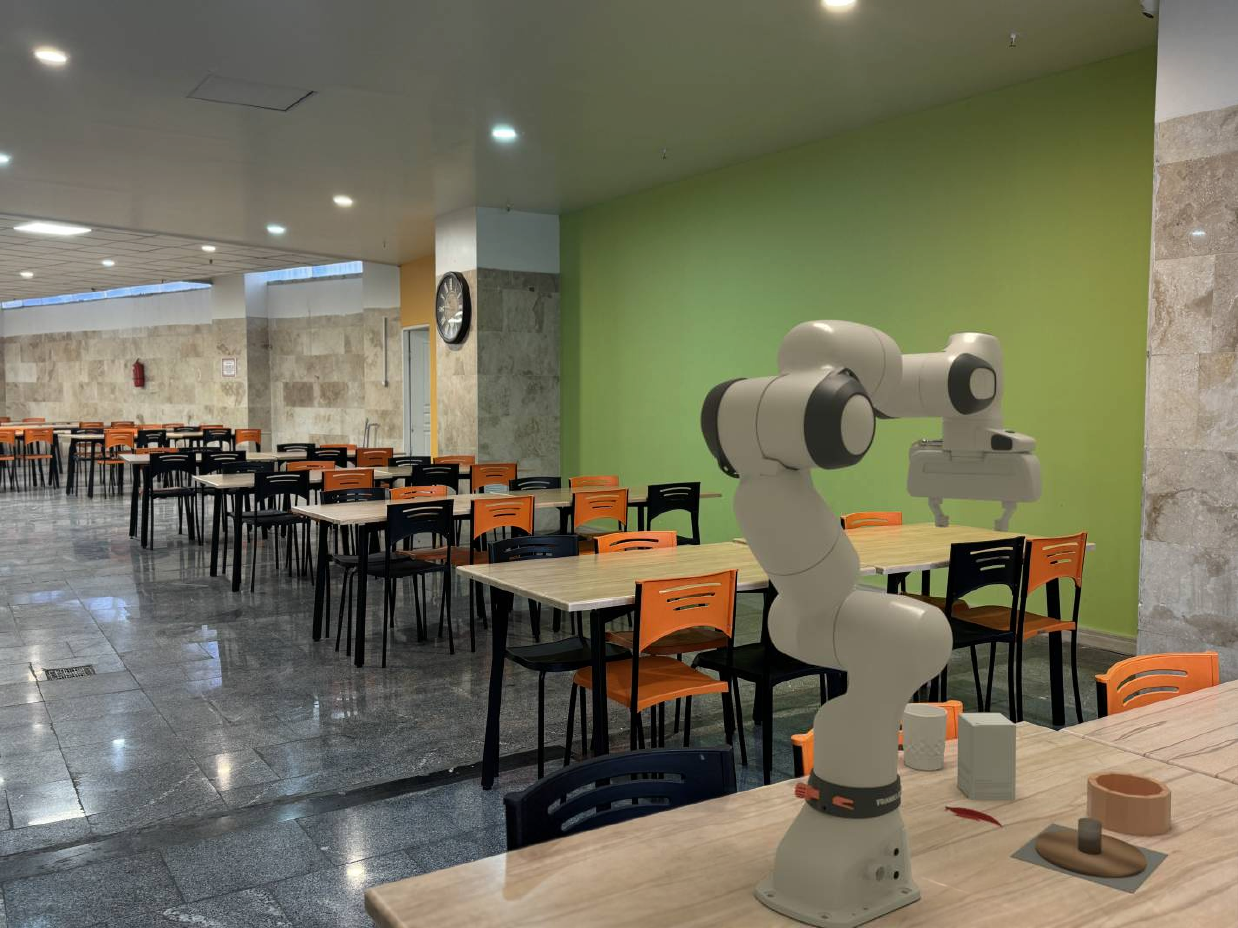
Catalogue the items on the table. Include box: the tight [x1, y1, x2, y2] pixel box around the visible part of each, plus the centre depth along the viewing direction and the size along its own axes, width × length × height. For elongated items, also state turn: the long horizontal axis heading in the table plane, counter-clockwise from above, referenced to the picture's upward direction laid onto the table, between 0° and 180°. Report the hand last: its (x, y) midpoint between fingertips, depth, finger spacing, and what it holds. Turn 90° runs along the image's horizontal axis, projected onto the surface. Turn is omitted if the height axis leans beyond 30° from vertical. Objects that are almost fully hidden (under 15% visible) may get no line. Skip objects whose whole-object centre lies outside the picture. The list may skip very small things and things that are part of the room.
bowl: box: [1086, 771, 1172, 837], centre depth 152 cm, size 11×11×6 cm
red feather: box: [943, 805, 1004, 829], centre depth 154 cm, size 12×5×2 cm, turn 23°
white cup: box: [901, 703, 948, 772], centre depth 178 cm, size 8×8×10 cm
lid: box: [1036, 817, 1146, 878], centre depth 140 cm, size 14×14×5 cm
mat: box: [1009, 823, 1169, 894], centre depth 140 cm, size 16×16×1 cm
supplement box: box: [956, 712, 1017, 801], centre depth 164 cm, size 7×7×13 cm
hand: (971, 529), depth 153 cm, fingers open, 8 cm apart
